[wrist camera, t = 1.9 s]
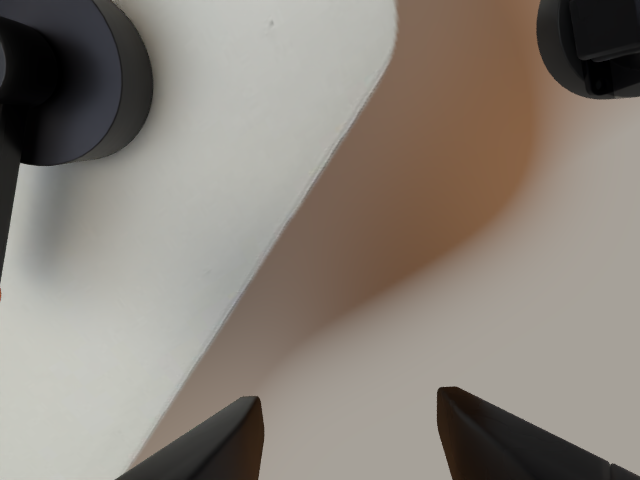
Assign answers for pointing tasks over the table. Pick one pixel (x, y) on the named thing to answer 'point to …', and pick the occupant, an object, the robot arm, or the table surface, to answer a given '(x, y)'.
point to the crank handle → (19, 104)
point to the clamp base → (85, 80)
